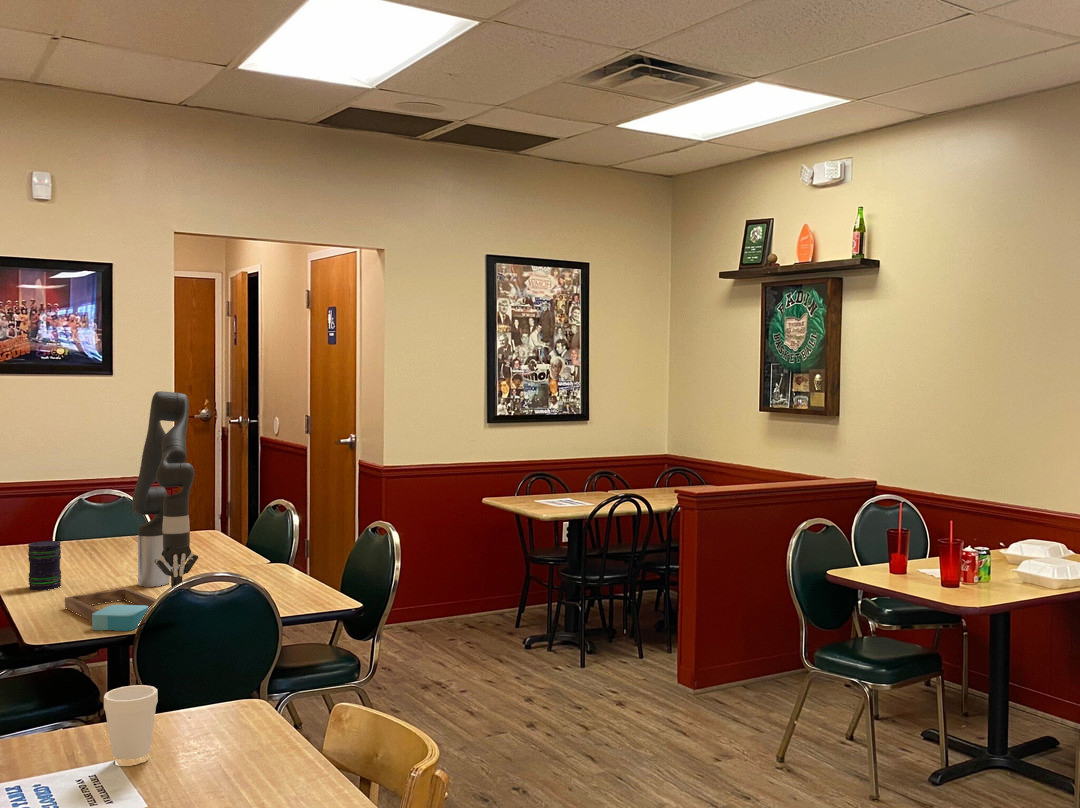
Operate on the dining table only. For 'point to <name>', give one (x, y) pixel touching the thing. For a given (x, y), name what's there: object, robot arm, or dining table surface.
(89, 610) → the walnut frame
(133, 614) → the data package
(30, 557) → the storage jar
